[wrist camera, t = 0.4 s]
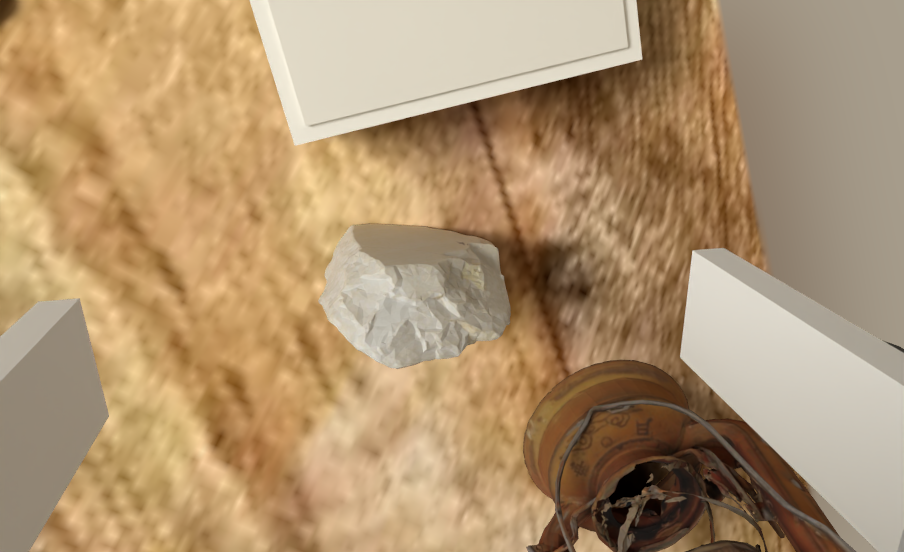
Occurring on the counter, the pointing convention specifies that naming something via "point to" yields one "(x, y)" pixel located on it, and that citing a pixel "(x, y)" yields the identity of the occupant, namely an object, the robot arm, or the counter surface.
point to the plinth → (429, 53)
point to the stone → (414, 292)
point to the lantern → (664, 441)
